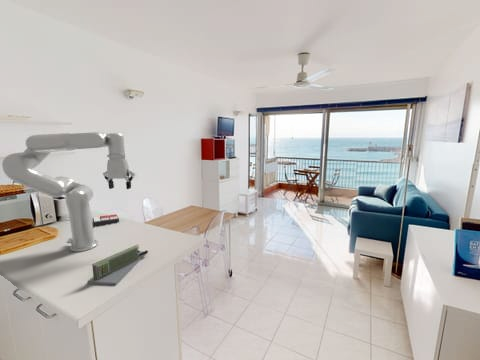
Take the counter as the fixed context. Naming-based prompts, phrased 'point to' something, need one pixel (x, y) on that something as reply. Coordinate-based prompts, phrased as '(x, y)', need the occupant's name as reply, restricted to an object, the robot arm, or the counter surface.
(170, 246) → the counter surface
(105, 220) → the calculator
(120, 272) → the charging dock
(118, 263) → the handheld radio
